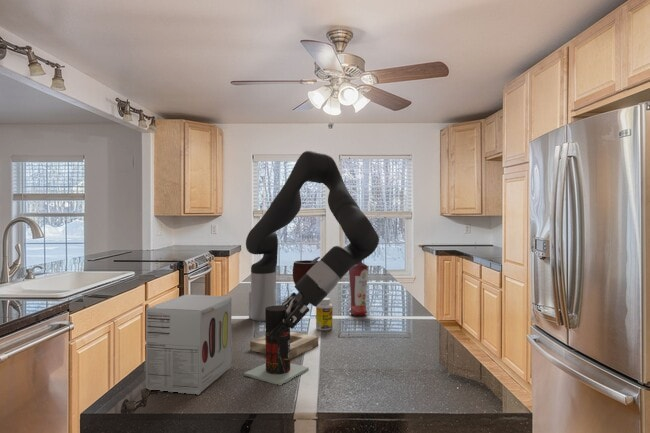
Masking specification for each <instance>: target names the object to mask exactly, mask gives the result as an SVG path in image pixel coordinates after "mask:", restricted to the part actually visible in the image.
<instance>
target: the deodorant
mask: <svg viewBox="0 0 650 433" xmlns="http://www.w3.org/2000/svg"><path fill="white" fill-rule="evenodd" d="M287 308H288V305H287V306H282V304H281V305H277V304H276V306H269V307H266V308H265V326H264V328H265V336H266V354H265V363H266V372H267V373H270V374H284V373H287V372H289V371H290V363H291V359H290V332H291V328H290V329H289V328H288V329H287V330H286V331H285V332H284V333H283V334H282V335H281V337H280V338H279V339H278V340H276V339H274V338H273V337H272V336H271V332H272V331H273V329H274V328H275V327H276V326H277V325H278V324H279V323H280V322H281V321H282V319H283V318H284V317H285V311H286V310H287Z"/></svg>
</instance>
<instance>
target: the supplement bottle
mask: <svg viewBox="0 0 650 433" xmlns="http://www.w3.org/2000/svg"><path fill="white" fill-rule="evenodd" d="M333 308H334V307H333V304H332V303H331V298H330V297H325V298H324V299H323V300H322V301H321V302H320V303H319V304H318V306H316V307H315V309H316V310H315V320H316V321H315V328H316V329H317V330H318V331H330V330H332V329H333Z"/></svg>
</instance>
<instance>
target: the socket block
mask: <svg viewBox="0 0 650 433" xmlns="http://www.w3.org/2000/svg"><path fill="white" fill-rule="evenodd" d="M249 343H250V344H249V349H250V351H252V352H257V353H259V354H265V355H266V335H263V336H261V337H258V338H256V339H253V340H250V342H249ZM318 346H319V336H316V335H311V334H306V333H301V332H300V333H299V332H294V331H290V360H292V359H293V358H296V357H297V356H299V354H300V355H301V353H302V354H304V353H306V352H308V351H309V350H312V349H313V348H315V347H318ZM307 350H308V351H307ZM305 351H306V352H305Z"/></svg>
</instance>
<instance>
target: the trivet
mask: <svg viewBox="0 0 650 433" xmlns="http://www.w3.org/2000/svg"><path fill="white" fill-rule="evenodd" d="M307 370H308V371H309V367H308V366H305V365H299V364H295V363H291V362H290V371H289V372H287V373H284V374H270V373H267V372H266V362H265V363H263V364H260V365H258V366H257V367H254V368H252V369H250V370H248V371H245V372H244V373H243V374H244V376H246V377H249V378H252V379H256V380H260V381H263V382H267V383H270V384H273V385H277V384H278V385H277V386H280V385H281V386H283V385H284V384H283V383H285V382H286V383H288V382H290V381H292V380H293V379H295V378H297V377H299V376H301V375H303V374H304V373H306V372H308V371H307ZM305 371H306V372H305ZM298 375H299V376H298ZM296 376H297V377H296ZM294 377H295V378H294ZM292 378H293V379H292ZM291 379H292V380H291ZM289 380H290V381H289ZM287 381H288V382H287ZM286 383H285V384H286ZM282 384H283V385H282Z"/></svg>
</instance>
